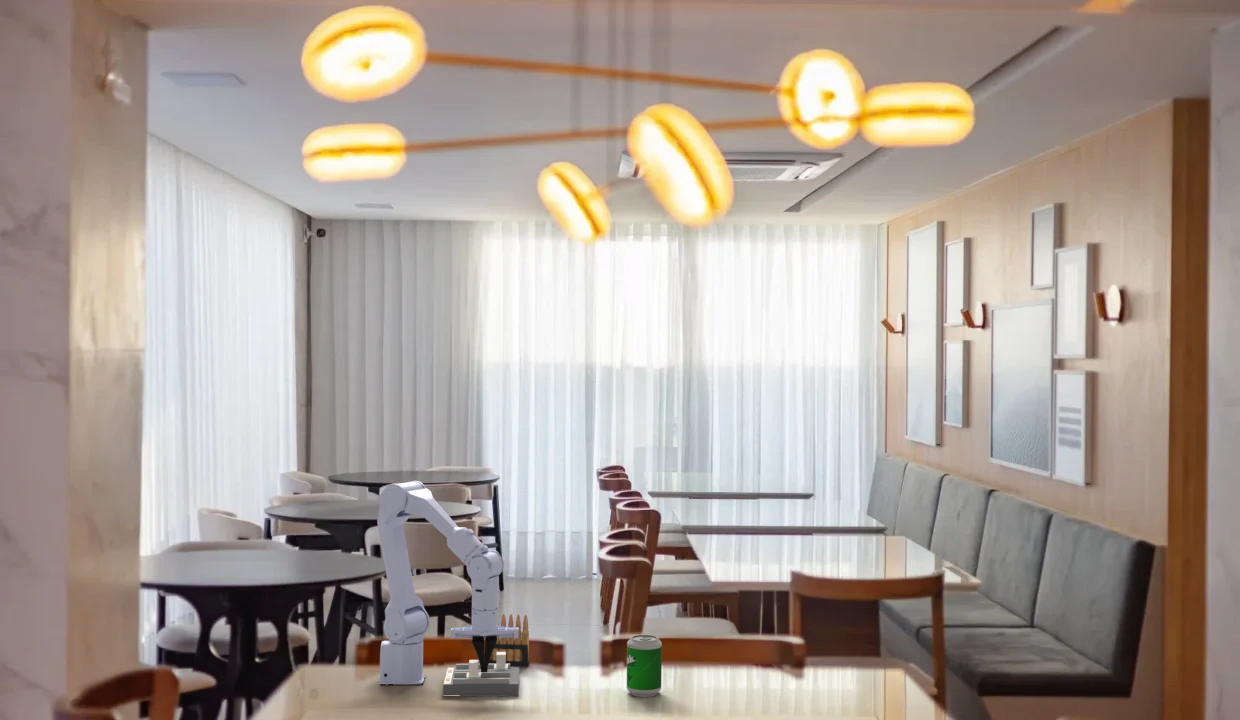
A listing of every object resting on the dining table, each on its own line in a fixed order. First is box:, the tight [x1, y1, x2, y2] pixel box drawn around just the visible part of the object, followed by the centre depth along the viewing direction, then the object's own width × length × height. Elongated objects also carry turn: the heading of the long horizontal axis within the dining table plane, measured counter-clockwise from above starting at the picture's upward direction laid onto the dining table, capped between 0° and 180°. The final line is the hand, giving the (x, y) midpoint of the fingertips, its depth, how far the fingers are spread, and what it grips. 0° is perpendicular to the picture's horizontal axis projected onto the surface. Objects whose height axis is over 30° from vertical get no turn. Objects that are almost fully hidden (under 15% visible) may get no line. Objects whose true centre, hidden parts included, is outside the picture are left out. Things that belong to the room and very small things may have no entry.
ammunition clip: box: [484, 613, 531, 668], centre depth 281 cm, size 11×2×12 cm, turn 86°
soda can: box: [626, 634, 663, 698], centre depth 258 cm, size 8×8×12 cm
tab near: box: [466, 659, 481, 678], centre depth 258 cm, size 3×4×4 cm
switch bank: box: [442, 663, 520, 697], centre depth 261 cm, size 16×14×4 cm
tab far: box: [494, 651, 508, 669], centre depth 265 cm, size 3×4×4 cm
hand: (484, 671), depth 258 cm, fingers closed
